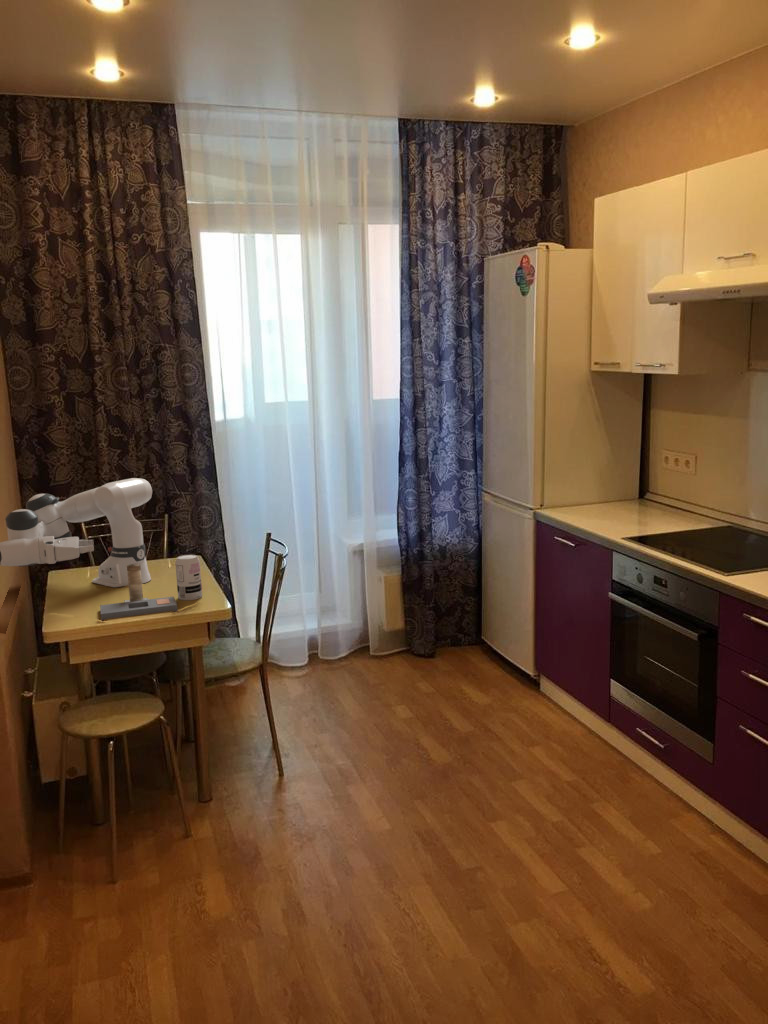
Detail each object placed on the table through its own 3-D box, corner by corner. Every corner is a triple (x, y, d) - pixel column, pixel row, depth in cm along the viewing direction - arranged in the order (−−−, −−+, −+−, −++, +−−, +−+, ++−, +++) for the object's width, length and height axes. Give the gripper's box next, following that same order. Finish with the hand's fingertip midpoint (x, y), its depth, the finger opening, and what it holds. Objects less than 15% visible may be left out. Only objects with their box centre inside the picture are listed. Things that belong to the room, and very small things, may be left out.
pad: (125, 608, 285) (125, 606, 285) (124, 602, 293) (124, 600, 293) (149, 605, 288) (149, 603, 288) (148, 599, 295) (147, 597, 295)
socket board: (101, 621, 271) (100, 613, 271) (100, 612, 281) (99, 604, 281) (177, 611, 279) (177, 604, 278) (174, 603, 289) (173, 595, 289)
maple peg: (127, 602, 289) (123, 566, 287) (136, 599, 293) (133, 563, 291) (136, 604, 287) (133, 567, 285) (146, 600, 291) (143, 564, 289)
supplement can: (182, 595, 298) (179, 554, 296) (205, 595, 298) (202, 554, 295) (174, 602, 291) (171, 559, 288) (198, 602, 290) (195, 559, 287)
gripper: (51, 552, 288) (94, 548, 293) (49, 565, 269) (95, 560, 274) (49, 534, 287) (92, 530, 292) (47, 545, 268) (93, 541, 273)
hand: (93, 545), depth 283 cm, fingers open, 8 cm apart
